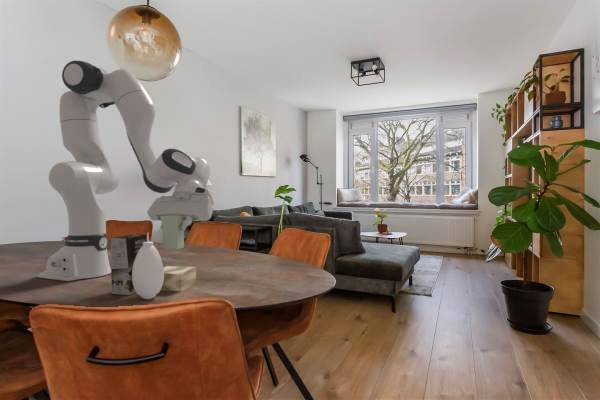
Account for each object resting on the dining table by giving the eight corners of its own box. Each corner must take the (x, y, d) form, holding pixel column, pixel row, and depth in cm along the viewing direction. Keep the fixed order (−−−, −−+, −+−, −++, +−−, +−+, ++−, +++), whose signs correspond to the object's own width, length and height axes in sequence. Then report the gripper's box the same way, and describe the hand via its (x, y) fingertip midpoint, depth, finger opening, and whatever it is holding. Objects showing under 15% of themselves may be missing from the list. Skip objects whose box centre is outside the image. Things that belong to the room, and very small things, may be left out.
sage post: (162, 249, 105) (162, 215, 104) (170, 246, 109) (170, 215, 109) (177, 249, 104) (176, 216, 104) (184, 247, 109) (183, 215, 108)
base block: (149, 290, 103) (148, 273, 103) (166, 281, 113) (166, 265, 112) (181, 291, 101) (181, 274, 101) (196, 282, 111) (196, 266, 111)
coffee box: (130, 295, 97) (129, 237, 97) (110, 294, 99) (109, 237, 98) (150, 286, 106) (150, 234, 106) (132, 285, 107) (131, 233, 107)
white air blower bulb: (140, 305, 89) (139, 234, 89) (127, 298, 94) (126, 232, 94) (169, 298, 95) (168, 232, 95) (155, 292, 100) (155, 230, 100)
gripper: (153, 189, 115) (136, 222, 105) (213, 189, 112) (200, 222, 102) (161, 203, 119) (145, 235, 110) (218, 202, 116) (207, 235, 107)
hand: (172, 229), depth 106 cm, fingers closed on sage post, 4 cm apart
